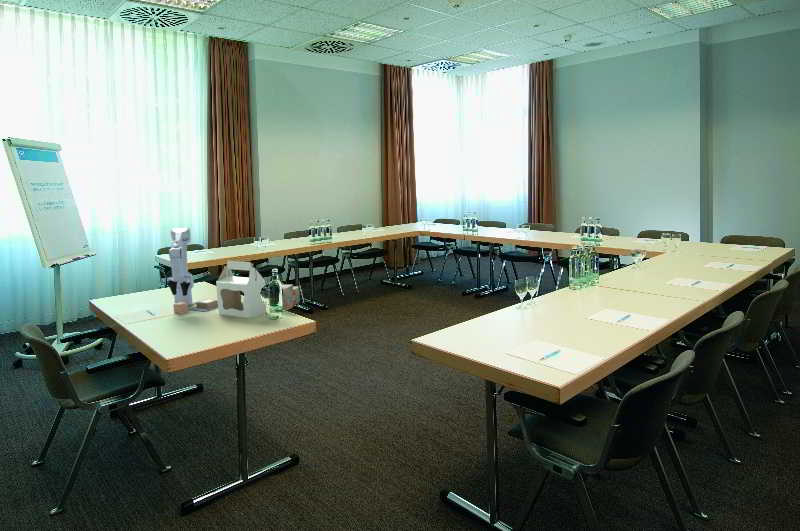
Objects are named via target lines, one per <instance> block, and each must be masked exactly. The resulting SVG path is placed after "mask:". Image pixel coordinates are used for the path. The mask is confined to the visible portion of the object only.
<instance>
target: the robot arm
mask: <svg viewBox="0 0 800 531" xmlns="http://www.w3.org/2000/svg"><path fill="white" fill-rule="evenodd" d="M170 235H171V236H170V237H171V239H172V241H171V247H170V249H168V256H169V260H170V261H169V262H170V268H171V276H170V277H166V281H167V282H166V284H167V286H168V287H169V289H170V291H171V294H172V296H174V304H175V303H179V302H186V303H188V306H191V305H194V304H195V305H196V302H197V301H196V302H195V301H193V293H192V292H193V291H192V289H193V288H194V287H195V282H194V276H193V274H192V273H190V272H189V271H188V270H189V269H188V249H187V248H188V244H190V243H191V240H192V239H191V228H190V227H176V228H174V227H172V228H171V229H170Z"/></svg>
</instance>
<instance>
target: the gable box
mask: <svg viewBox="0 0 800 531" xmlns="http://www.w3.org/2000/svg"><path fill="white" fill-rule="evenodd" d="M226 264H227V265H224V266H223V269H222V271H221V272H220V274H219V276H218V278H217V279H216V293H217V294H216V295H217V296H216V297H217V298H216V299H217V300H218V308H217V309H218V315H220V316H229V317H239V318H246V319H251V318H255V317H257V316H260V315H263V314H266V313H265V312H266V305H267V303H266V304H265V303H264V301H262V299H261V296H260V292H261V289H262V288H263V287H264V286H265V287H266V280H265V279H264V278H263V276H262V275H261V274H260V273H259V271H258V270H257V268H255V267H254V263H252V262H251V261H240V260H227V263H226ZM232 270H234V271H236V270H238V271H249V273H248V277H243V276H234V274H233V271H232ZM241 292H242V293H243V294H244V295H243V300H242V295H241Z"/></svg>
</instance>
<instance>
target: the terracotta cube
mask: <svg viewBox="0 0 800 531" xmlns="http://www.w3.org/2000/svg"><path fill="white" fill-rule="evenodd" d="M188 309H189V305H188V303H186V302H179V303H175V302H174V303H173V312H174V314H185V313H188V312H189V310H188Z"/></svg>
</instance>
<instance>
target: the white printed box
mask: <svg viewBox="0 0 800 531" xmlns="http://www.w3.org/2000/svg"><path fill="white" fill-rule="evenodd" d="M281 285H282V289H283V309H284V310H285V311H284V312H287V311H288V310H290V309H292V308H293V307H295V306H296V305H297V304H300V302H301V298H300V297H301V296H300V294H301V293H300V286H294V284H281Z"/></svg>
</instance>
